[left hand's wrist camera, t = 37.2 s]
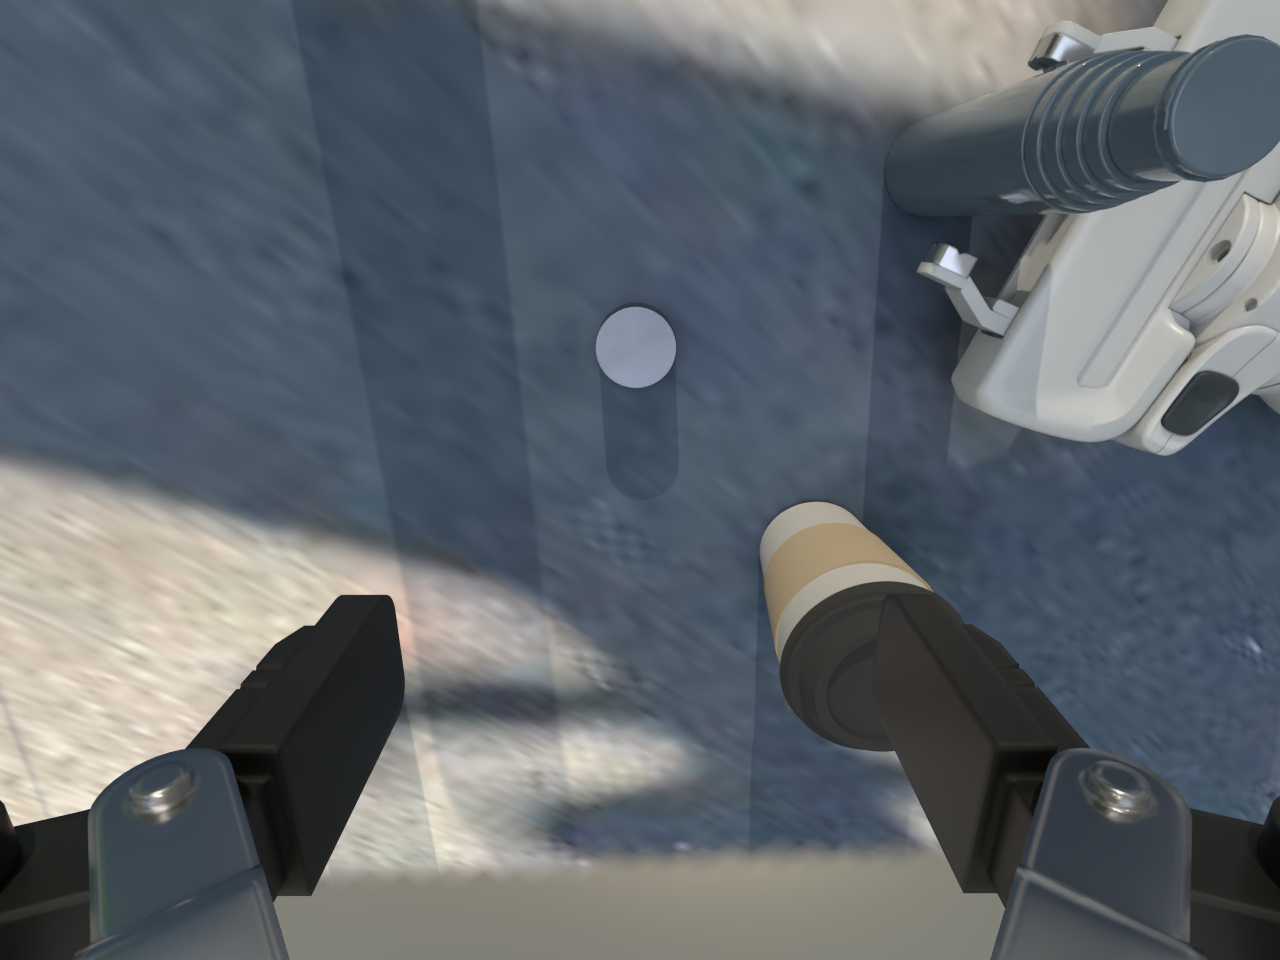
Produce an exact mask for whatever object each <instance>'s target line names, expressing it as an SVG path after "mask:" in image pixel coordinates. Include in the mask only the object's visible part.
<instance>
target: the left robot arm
mask: <svg viewBox="0 0 1280 960" xmlns="http://www.w3.org/2000/svg"><path fill="white" fill-rule="evenodd" d="M404 689H405V678H404V669H403V662H402V655H401V648H400V641H399V634H398V627H397V619H396V612H395V607H394V603H393V601H392V599H391V597H390V596H389V595H340V596H339V597H338V598H337V599H336V600H335V601H334V602H333V603H332V605H331V606H330V607H329V608H328V610H327V611H326V612H325V613H324V615H323V616H322V617H321V618H320V620H319V621H318V622H317V623H316V625H315V626H303V627H301V628H300V629H298V630H297V631H295V632H294V633H292V634H291V635H289V636H287V637H286V638H284V639H283V640H281V641H280V642H278V643H276V644H275V645H274V646H273V647H272V649H271V650H270V651H269V652H268V653H267V654H266V656H265V657H264V658H263V659H262V660H261V661H260V663H259V664H258V665H257V666H256V671H252V672H251V673H250V674H249V675H248V676H247V678H246V679H245V680H244V681H243V682H242V683H241V688H240V689H236V690H235V692H234V693H233V694H232V695H231V696H230V697H229V699H228V700H227V701H226V702H225V703H224V704H223V705H222V707H221V708H220V709H219V710H218V711H217V712H216V714H215V715H214V716H213V717H212V718H211V719H210V721H209V722H208V723H207V724H206V725H205V726H204V728H203V729H202V730H201V731H200V732H199V733H198V735H197V736H196V737H195V738H194V739H193V740H192V741H191V743H190V744H189V745H188V746H187V747H186V748H185V749H183V750H178V751H173V752H169V753H166V754H163V755H160V756H157V757H155V758H152V759H150V760H147V761H145V762H143V763H141V764H139V765H137V766H135V767H133V768H132V769H130V770H129V771H127V772H125V773H124V774H122V775H121V776H119V777H118V778H117V779H115V780H114V781H113V782H112V783H111V784H109V785H108V786H107V787H106V788H105V789H104V790H103V791H102V792H101V794H100V795H99V796H98V797H97V798H96V800H95V801H94V803H93V804H92V807H91V809H88V810H85V811H81V812H76V813H72V814H68V815H63V816H59V817H54V818H50V819H46V820H41V821H37V822H32V823H28V824H24V825H19V826H15V827H13V825H12V822H11V820H10V818H9V815H8V813H7V810H6V808H5V805H4V804H3V803H2V802H1V801H0V960H290V959H289V956H288V953H287V949H286V946H285V942H284V939H283V935H282V932H281V928H280V925H279V922H278V918H277V915H276V911H275V908H274V904H273V903H274V901H275V899H276V897H277V896H311V895H312V893H313V891H314V889H315V887H316V885H317V883H318V881H319V879H320V877H321V875H322V873H323V871H324V869H325V867H326V864H327V862H328V860H329V858H330V856H331V854H332V852H333V850H334V848H335V846H336V844H337V842H338V840H339V838H340V836H341V834H342V832H343V830H344V827H345V825H346V823H347V821H348V819H349V817H350V815H351V813H352V811H353V809H354V807H355V805H356V803H357V801H358V799H359V797H360V795H361V793H362V791H363V788H364V786H365V784H366V782H367V780H368V778H369V776H370V774H371V772H372V770H373V768H374V766H375V764H376V762H377V760H378V758H379V756H380V754H381V752H382V749H383V747H384V745H385V743H386V741H387V739H388V737H389V735H390V733H391V731H392V729H393V727H394V725H395V723H396V721H397V719H398V716H399V714H400V711H401V708H402V704H403V698H404ZM872 693H873V700H874V705H875V708H876V712H877V714H878V716H879V719H880V721H881V723H882V725H883V727H884V729H885V731H886V733H887V735H888V737H889V739H890V741H891V743H892V746H893V748H894V750H895V752H896V754H897V756H898V758H899V760H900V762H901V764H902V766H903V768H904V771H905V773H906V775H907V777H908V779H909V781H910V783H911V785H912V787H913V789H914V791H915V793H916V795H917V798H918V800H919V802H920V804H921V806H922V808H923V810H924V812H925V814H926V816H927V818H928V820H929V822H930V825H931V827H932V829H933V831H934V833H935V835H936V837H937V839H938V841H939V843H940V845H941V847H942V850H943V852H944V854H945V856H946V858H947V860H948V862H949V864H950V866H951V868H952V870H953V872H954V874H955V877H956V879H957V881H958V883H959V885H960V887H961V889H962V891H963V893H997V894H998V896H999V897H1000V899H1001V901H1002V903H1003V905H1004V907H1005V911H1004V915H1003V918H1002V921H1001V925H1000V928H999V932H998V935H997V939H996V942H995V946H994V949H993V952H992V956H991V959H990V960H1280V796H1279V797H1277V798H1276V799H1275V800H1274V801H1273V803H1272V806H1271V808H1270V811H1269V813H1268V816H1267V818H1266V821H1265V823H1264V825H1261V824H1257V823H1253V822H1248V821H1244V820H1239V819H1235V818H1231V817H1226V816H1222V815H1217V814H1213V813H1208V812H1204V811H1200V810H1195V809H1191V808H1189V807H1188V804H1187V803H1186V801H1185V800H1184V798H1183V797H1182V796H1181V795H1180V794H1179V792H1178V791H1177V790H1176V789H1175V788H1174V787H1173V786H1172V785H1171V784H1169V783H1168V782H1167V781H1166V780H1165V779H1163V778H1162V777H1161V776H1159V775H1158V774H1156V773H1155V772H1153V771H1151V770H1150V769H1148V768H1147V767H1145V766H1143V765H1141V764H1139V763H1137V762H1135V761H1133V760H1130V759H1128V758H1125V757H1123V756H1120V755H1117V754H1114V753H1111V752H1107V751H1102V750H1097V749H1090V747H1089V746H1088V745H1087V744H1086V743H1085V742H1084V740H1083V739H1082V738H1081V737H1080V736H1079V735H1078V733H1077V732H1076V731H1075V730H1074V729H1073V727H1072V726H1071V725H1070V724H1069V723H1068V722H1067V720H1066V719H1065V718H1064V717H1063V716H1062V715H1061V713H1060V712H1059V711H1058V710H1057V709H1056V708H1055V706H1054V705H1053V704H1052V703H1051V702H1050V701H1049V699H1048V698H1047V697H1046V696H1045V695H1044V693H1043V692H1042V691H1041V690H1040V689H1039V688H1038V687H1035V686H1034V682H1033V681H1032V679H1031V678H1030V677H1029V676H1028V675H1027V674H1026V672H1025V671H1024V670H1023V669H1019V664H1018V663H1017V662H1016V661H1015V660H1014V658H1013V657H1012V656H1011V655H1010V654H1009V652H1008V651H1007V650H1006V649H1005V648H1004V647H1003V645H1002V644H1001V643H1000V642H998V641H997V640H995V639H993V638H992V637H990V636H989V635H987V634H986V633H984V632H983V631H981V630H979V629H978V628H976V627H975V626H973V625H972V624H960V622H959V621H958V620H957V619H956V617H955V616H954V615H953V614H952V612H951V611H950V610H949V609H948V607H947V606H946V605H945V604H944V602H943V601H942V600H941V599H940V597H939V596H937V595H936V594H887V595H886V596H885V598H884V600H883V603H882V607H881V613H880V621H879V628H878V635H877V642H876V650H875V657H874V664H873V671H872Z"/></svg>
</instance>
